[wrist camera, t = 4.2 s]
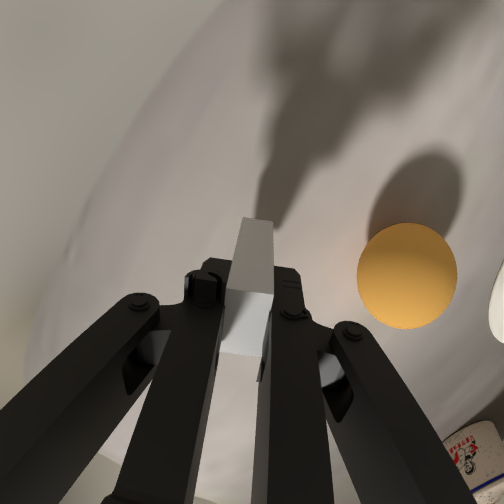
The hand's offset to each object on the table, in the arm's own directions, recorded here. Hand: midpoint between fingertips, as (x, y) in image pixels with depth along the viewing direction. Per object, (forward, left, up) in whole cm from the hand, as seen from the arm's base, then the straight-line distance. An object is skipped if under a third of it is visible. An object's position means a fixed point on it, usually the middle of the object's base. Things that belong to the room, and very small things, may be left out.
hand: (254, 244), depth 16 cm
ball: (-8, 0, +1) cm, 8 cm away
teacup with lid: (-29, +24, -2) cm, 38 cm away
